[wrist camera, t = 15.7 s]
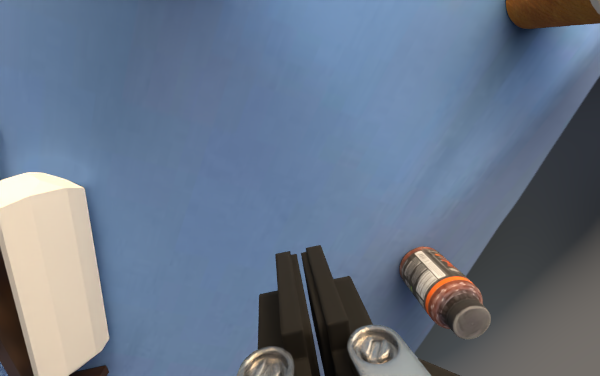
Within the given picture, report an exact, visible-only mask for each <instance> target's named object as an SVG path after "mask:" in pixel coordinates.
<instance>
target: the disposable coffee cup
mask: <svg viewBox="0 0 600 376" xmlns="http://www.w3.org/2000/svg"><path fill="white" fill-rule="evenodd" d="M506 8H507V12H508V15H509V17H510V19H511V20H512V22H513V23H514V24H515V25H517V26H518V27H520V28H524V29H534V28H546V27H560V26H570V25H584V24H597V23H600V0H506Z"/></svg>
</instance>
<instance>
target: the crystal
mask: <svg viewBox="0 0 600 376" xmlns="http://www.w3.org/2000/svg"><path fill="white" fill-rule="evenodd" d="M0 248H1V252H2V255H3V259H4V263H5V267H6V271H7V275H8V278H9V282H10V286H11V290H12V294H13V298H14V301H15V305H16V309H17V313H18V317H19V321H20V324H21V328H22V332H23V336H24V340H25V344H26V347H27V351H28V355H29V359H30V363H31V367H32V370H33V374H34V376H69V375H70V374H72V373H73V372H75V371H76V370H78V369H79V368H80V367H82V366H83V365H84V364H85V363H87V362H88V361H89V360H90V359H92V358H93V357H94V356H96V355H97V354H98V353H99V352H101V351H102V350H103V348H104V346H105V345H106V343H107V341H108V340H109V333H108V327H107V321H106V315H105V309H104V303H103V297H102V291H101V285H100V279H99V273H98V267H97V261H96V255H95V248H94V242H93V236H92V230H91V224H90V218H89V212H88V206H87V200H86V194H85V188H83V187H81V186H79V185H76V184H74V183H72V182H70V181H68V180H66V179H63V178H59V177H56V176H52V175H49V174H45V173H24V174H21V175H17V176H14V177H10V178H7V179H3V180H1V181H0Z"/></svg>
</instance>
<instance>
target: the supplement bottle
mask: <svg viewBox="0 0 600 376" xmlns="http://www.w3.org/2000/svg"><path fill="white" fill-rule="evenodd" d="M400 275H401V277H402V279H403V281H404V282H405V284H406V285H407V287H408V288H409V289H410V291H411V292H412V293H413V295H414V296H415V297H416V299H417V300H418V301H419V303H420V304H421V305H422V307H423V308H424V309H425V311H426V312H427V313H428V315H429V316H430V317H431V319H432V320H433V321H434V322H435V323H436V324H438V325H439V326H441V327H443V328H447V329H451V330H452V331H453V332H454V333H455V334H456V335H457V336H458V337H460V338H462V339H473V338H476V337H478V336H480V335H482V334H483V333H484V332H485V331H486V330H487V328H488V327H489V324H490V321H491V316H490V313H489V312H488V310H487V309H486V308H485V307H484V306H483V305H482V296H481V293H480V291H479V289H478V288H477V287H476V286H475V285H474V284H473V283H472V282H471V281H469V279H467V277H465V276H464V275H463V274H462V273H461V272H460V271H458V270H457V269H456V268H455V267H454V266H453V265H452V264H451V263H450V262H449V261H448V260H446V259H445V258H444V257H443V256H442V255H441V254H440V253H439V252H437V251H436V250H434V249H432V248H429V247H419V248H416V249H413V250H411V251H410V252H408V253H407V254H406V255H405V256H404V258H403V259H402V261H401V264H400Z"/></svg>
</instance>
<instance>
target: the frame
mask: <svg viewBox="0 0 600 376" xmlns="http://www.w3.org/2000/svg"><path fill="white" fill-rule="evenodd" d="M0 362H1V363H2V365H3V367H4V369H5V370H6V372H7V374H8V375H9V376H34V374H33V370H32V367H31V363H30V359H29V355H28V351H27V347H26V344H25V340H24V336H23V332H22V328H21V324H20V321H19V317H18V313H17V309H16V305H15V301H14V298H13V294H12V290H11V286H10V282H9V278H8V275H7V271H6V267H5V263H4V259H3V255H2V252H1V248H0ZM108 373H109V371H108V369H107V367H106V366H101V367H96V368H92V369H87V370H82V371H77V372H73V373H72V374H70V375H69V376H107V375H108Z"/></svg>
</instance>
